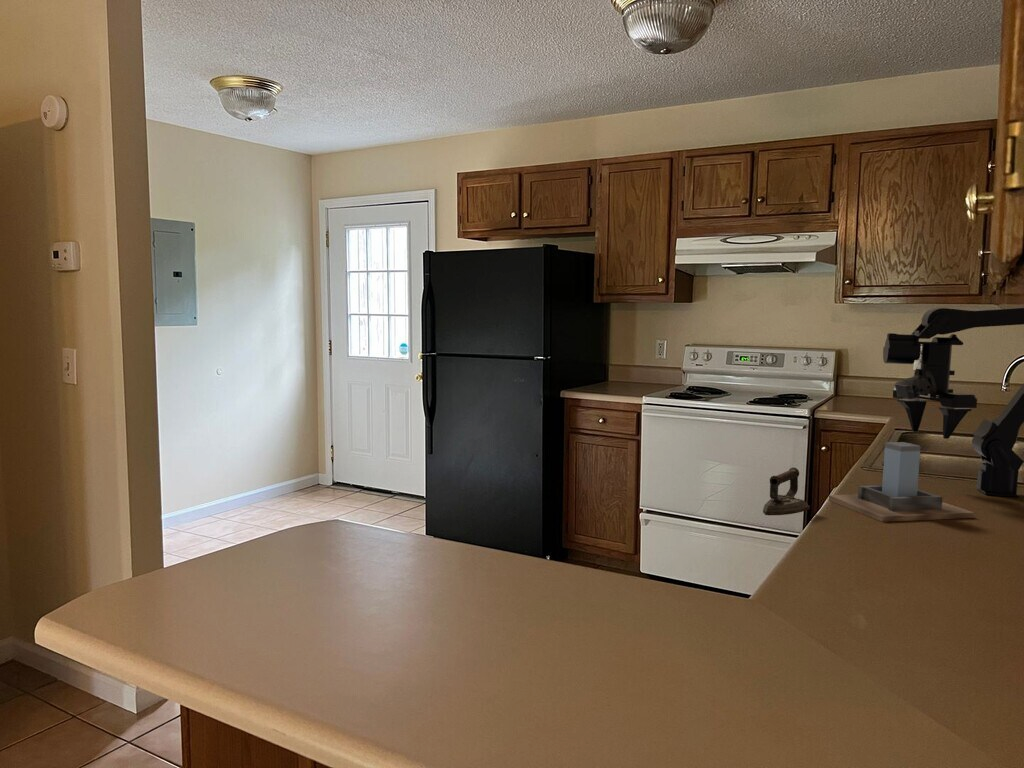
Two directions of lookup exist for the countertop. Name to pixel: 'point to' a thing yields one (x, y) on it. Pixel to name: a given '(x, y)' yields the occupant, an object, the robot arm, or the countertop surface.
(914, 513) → the jig cradle
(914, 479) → the block
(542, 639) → the countertop surface
